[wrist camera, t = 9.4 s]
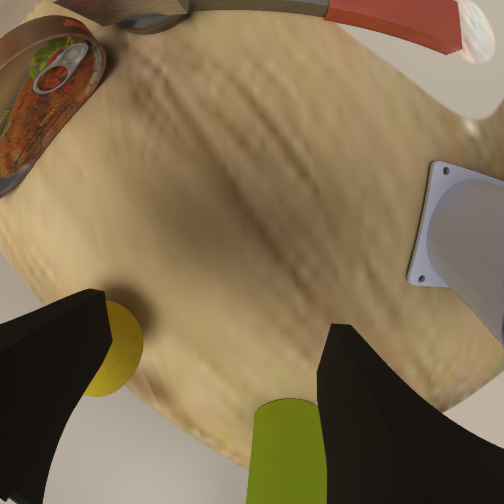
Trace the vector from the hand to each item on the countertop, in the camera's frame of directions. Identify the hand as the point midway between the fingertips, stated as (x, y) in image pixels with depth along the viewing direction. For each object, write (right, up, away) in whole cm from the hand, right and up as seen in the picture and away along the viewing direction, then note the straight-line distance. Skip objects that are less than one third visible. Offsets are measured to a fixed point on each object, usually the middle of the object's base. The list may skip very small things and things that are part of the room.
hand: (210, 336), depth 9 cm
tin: (-13, +12, +7) cm, 19 cm away
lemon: (-8, -2, +12) cm, 14 cm away
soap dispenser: (+4, -12, +15) cm, 19 cm away
